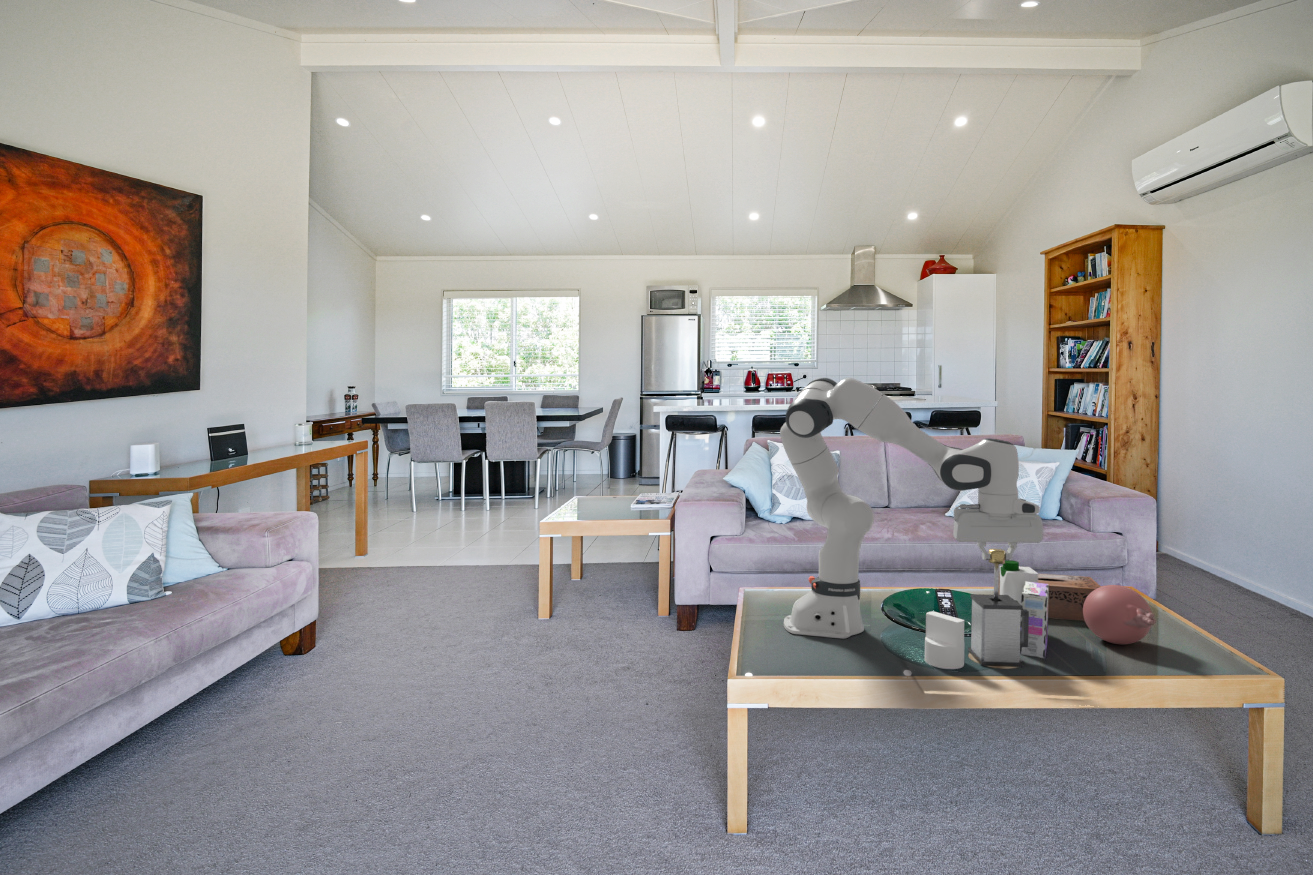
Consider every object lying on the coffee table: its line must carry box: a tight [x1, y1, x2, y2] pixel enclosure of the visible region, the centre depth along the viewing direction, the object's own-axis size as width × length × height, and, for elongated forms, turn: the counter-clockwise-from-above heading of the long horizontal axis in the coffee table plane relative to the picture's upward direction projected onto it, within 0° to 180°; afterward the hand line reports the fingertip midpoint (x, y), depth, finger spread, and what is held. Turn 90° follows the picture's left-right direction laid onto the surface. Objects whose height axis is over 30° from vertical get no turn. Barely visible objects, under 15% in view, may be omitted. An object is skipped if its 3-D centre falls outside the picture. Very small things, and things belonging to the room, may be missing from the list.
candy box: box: [1020, 581, 1049, 659], centre depth 178 cm, size 14×6×16 cm, turn 148°
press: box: [967, 593, 1029, 668], centre depth 170 cm, size 12×10×15 cm
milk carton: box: [999, 559, 1039, 628], centre depth 191 cm, size 9×9×20 cm
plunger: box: [988, 548, 1006, 601], centre depth 170 cm, size 6×6×17 cm
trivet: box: [968, 652, 1022, 670], centre depth 171 cm, size 12×12×1 cm
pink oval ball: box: [1083, 584, 1157, 645], centre depth 180 cm, size 15×20×15 cm
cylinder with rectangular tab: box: [924, 610, 965, 670], centre depth 169 cm, size 9×9×12 cm
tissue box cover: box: [998, 570, 1102, 622], centre depth 210 cm, size 26×14×10 cm, turn 72°
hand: (996, 559), depth 169 cm, fingers closed on plunger, 4 cm apart
